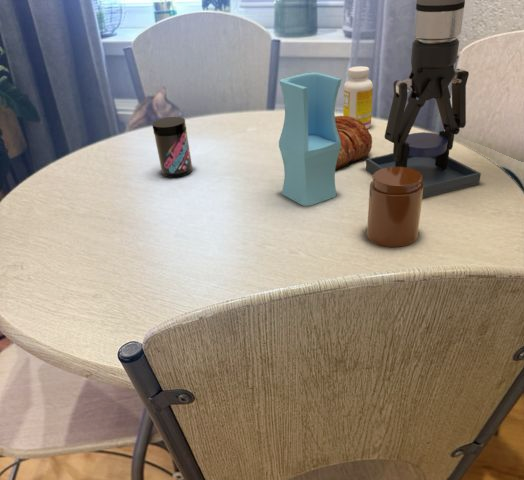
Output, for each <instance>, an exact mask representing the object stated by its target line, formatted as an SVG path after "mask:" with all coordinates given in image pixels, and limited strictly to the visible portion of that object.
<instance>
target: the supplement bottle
mask: <svg viewBox="0 0 524 480" xmlns="http://www.w3.org/2000/svg"><path fill="white" fill-rule="evenodd" d="M369 74H370V67H368V66H365V65H364V66H363V65H362V66H351V67H349V68H348V71H347V76H348V80H346V81H345V82H344V84H343V104H342V105H343V109H342V111H343V112H342V113H343V114H342V116H349V117H353V118H356V119H358V120H360V121H361V122H362V123H363V124H364V125H365V127H366V129H367V130H368V129H369V128H370V127H371V125H372V111H373V110H372V109H373V91H374V89H373V88H374V85H373V82H372V80H371V79H369Z"/></svg>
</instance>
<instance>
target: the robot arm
mask: <svg viewBox="0 0 524 480" xmlns="http://www.w3.org/2000/svg"><path fill="white" fill-rule="evenodd" d="M465 4H466V0H416V4H415V14H414V24H413V25H414V26H413V37H414V38H415V39H414V40H413V42H412V45H411V54H410V55H411V56H410V65H411V71H410V73H409V76H408V78H406V79H403V80H398V79H396V80H395V81H394V82H393V86H392V87H393V97H392V102H391V105H390V110H389V114H388V119H387V124H386V128H385V133H384V136H383V137H384V139H385V140H387V141H388V142H390V143H391V144H392V143H393V147H392V148H393V150H392V153H393V159H394V160H395V161H396V163H395V167H406V168H407V159H408V149H409V144H408V143H406V142H405V141H406V139H407V137H408V135H409V134H411V133H410V132H411V130H412V128H413V126H414V124H415V121H416V119H417V117H418V115H419V113H420V111H421V109H422V107H424V105H425V103H426V102H427V101H430V100H431V99H435V102H436V105H437V109H438V113H439V117H440V120H441V123H442V127H443V130H440V131H439V132H438V134H440V135H443V136H445V137H446V138H447V139H448V142H447V149H446V151H445V152H444V153H443V154H441V155H438V156H436V162H435V166H437V167H439V168H441V169H443V170H445V169H447V163H448V157H450V156H449V155H450V151H452V149H453V147H454V140H455V135H458V134H459V133H460V129H463V128H465V127H466V124H467V92H466V91H467V83H468V79H469V75H470V74H469V73H470V72H469V71H468V70H464V69H461V68H456V69H455V64H456V63H457V61H458V54H459V46H460V40H459V39H458V37H459V36H460V35H461V34H462V27H463V19H464V11H465ZM450 84H451V91H450V89H449V85H450ZM410 88H411V90H410ZM450 92H451V93H450ZM409 93H410V94H409ZM408 94H409V96H408Z"/></svg>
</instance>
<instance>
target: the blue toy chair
mask: <svg viewBox="0 0 524 480" xmlns="http://www.w3.org/2000/svg"><path fill="white" fill-rule="evenodd" d="M342 80H343V79H342V78H340V77H336V76H333V75H330V74H329V75H328V74H325V73H321V72H315V71H314V72H313V71H312V72H306V73H301V74H297V75H293V76H289V77H284V78H281V79H280V80H279V85H280V89H281V92H282V97H283V105H284V120H283V125H282V129H281V132H280V136H279V139H278V148H279V151H280V156H281V158H282V164H283V169H284V170H283V171H284V175H283V176H284V178H283V185H282V190H281V195H283V196H284V197H287V198H288V199H290V200H292V201H293V202H295V203H297V204H298V205H301V206H304V207H310V206H314V205H316V204H319V203H322V202H325V201H327V200H330V199H334V198H336V197H337V190H336V170H335V168H336V163H337V159H338V155H339V152H340V148H341V141H340V138H339V135H338V131H337V128H336V123H335V116H336V114H335V111H336V110H335V109H336V103H337V97H338V93H339V90H340V88H341V83H342Z"/></svg>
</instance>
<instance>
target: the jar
mask: <svg viewBox="0 0 524 480" xmlns="http://www.w3.org/2000/svg"><path fill="white" fill-rule="evenodd" d="M422 181H423V179H422V175H421V173H420V172H418V171H417V170H414V169H411V168H406V167H389V168H384V169H380V170H378V171H376V172H375V173H374V174H372V180H371V182H370V183H369V193H368V210H367V211H368V212H367V225H366V227H367V228H366V230H367V231H366V236H367V239H368V240H369V241H370V242H372V243H373V244H375V245H378V246H381V247H386V248H400V247H407V246H408V245H409V246H410V245H411V244H413V243H415V241H416V240H417V239H418V234H419V226H420V221H421V211H422V203H423V198H422V196H423V188H424V184H423V182H422Z"/></svg>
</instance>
